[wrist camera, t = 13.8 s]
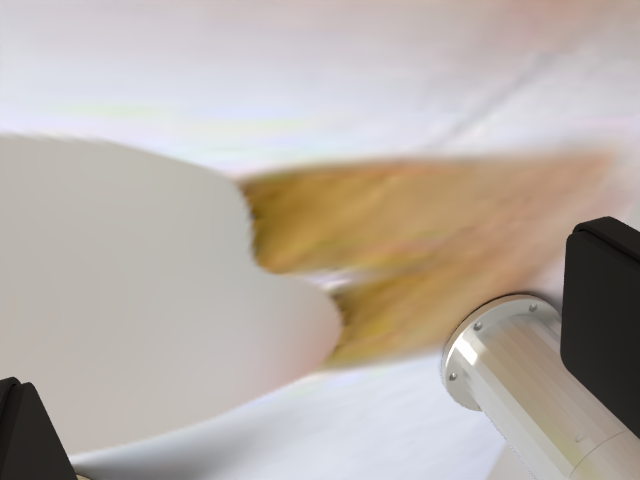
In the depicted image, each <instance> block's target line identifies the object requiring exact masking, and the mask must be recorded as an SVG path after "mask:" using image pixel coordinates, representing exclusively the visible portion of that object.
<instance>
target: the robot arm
mask: <svg viewBox="0 0 640 480" xmlns="http://www.w3.org/2000/svg"><path fill="white" fill-rule="evenodd" d="M441 378H442V381H443V385H444V387H445V388H446V390H447V392H448V393H449V394H450V396H451V397H452V398H453V399H454V401H455V402H457V403H458V404H459V405H461V406H462V407H465V408H467V409H470V410H474V411H483V412H484V413H485V414H486V416H487V417H488V418H489V420H490V421H491V422H492V423H493V425H494V426H495V427H496V429H497V430H498V431H499V433H500V434H501V435H502V436H503V438H504V439H505V440H506V442H507V443H508V444H509V446H510V447H511V448H512V449H513V451H514V452H515V453H516V455H517V456H518V457H519V459H520V460H521V461H522V462H523V464H524V465H525V466H526V468H527V469H528V470H529V472H530V473H531V474H532V475H533V477H534V478H535V479H536V480H640V232H639V231H637V230H635V229H633V228H632V227H630V226H628V225H626V224H624V223H622V222H621V221H619V220H617V219H615V218H613V217H610V216H607V217H602V218H598V219H594V220H591V221H587V222H583V223H580V224H578V225H576V226H575V228H574V230H573V233H572V234H571V235H569V236H568V238H567V242H566V255H565V272H564V289H563V306H562V318H561V316H560V315H559V313H558V312H557V311H556V309H554V308H553V307H552V306H551V305H550V304H548V303H547V302H546V301H544V300H542V299H540V298H539V297H535V296H531V295H512V296H506V297H503V298H500V299H497V300H494V301H492V302H490V303H488V304H486V305H484V306H482V307H481V308H479V309H478V310H476V311H475V312H474V313H472V314H471V315H470V316H469V317H468V318H467V319H465V320H464V321H463V322H462V323H461V324H460V326H459V327H458V328H457V329H456V331H455V332H454V333H453V335H452V336H451V338H450V340H449V342H448V343H447V345H446V348H445V350H444V353H443V356H442V362H441ZM0 480H78V478H77V476H76V474H75V472H74V469H73V467H72V465H71V463H70V461H69V459H68V457H67V454H66V452H65V450H64V448H63V446H62V444H61V442H60V440H59V437H58V435H57V433H56V431H55V429H54V427H53V425H52V423H51V421H50V418H49V416H48V414H47V412H46V410H45V407H44V406H43V403H42V401H41V399H40V397H39V395H38V393H37V390H36V389H35V387H34V385H33V384H32V383H30V382H28V383H24V384H21V383H20V381H19V380H18V379H17V378H15V377H10V378H6V379H2V380H0Z"/></svg>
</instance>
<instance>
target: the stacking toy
mask: <svg viewBox="0 0 640 480" xmlns="http://www.w3.org/2000/svg"><path fill="white" fill-rule="evenodd" d="M76 476H77V478H78V480H90V479H88V478H85V477H83V476H80V475H76Z"/></svg>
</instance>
